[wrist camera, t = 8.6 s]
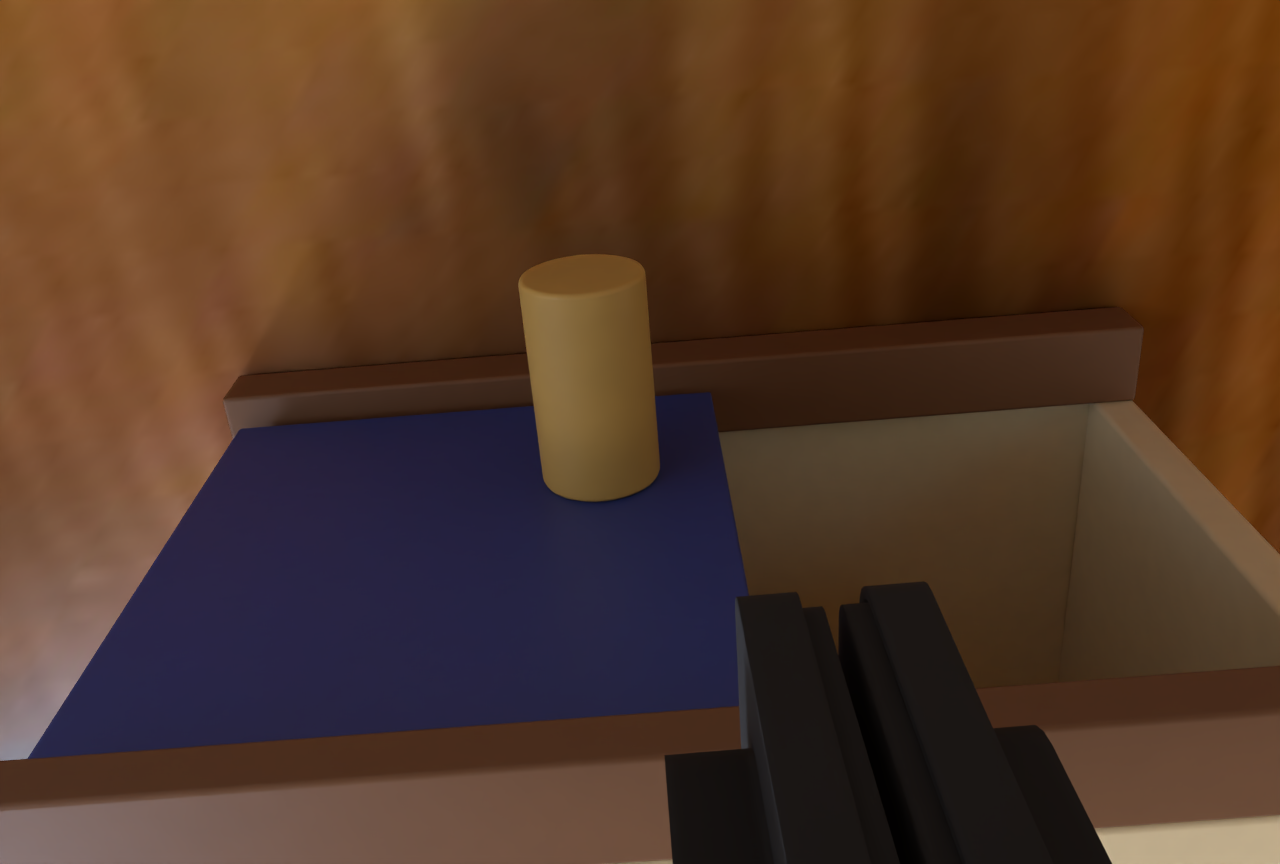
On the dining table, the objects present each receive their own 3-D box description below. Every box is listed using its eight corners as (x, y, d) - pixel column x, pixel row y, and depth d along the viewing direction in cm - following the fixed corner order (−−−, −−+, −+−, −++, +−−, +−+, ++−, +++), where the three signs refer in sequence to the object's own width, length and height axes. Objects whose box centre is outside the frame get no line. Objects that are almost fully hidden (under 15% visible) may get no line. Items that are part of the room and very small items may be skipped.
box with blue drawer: (238, 374, 23) (-74, 812, 13) (1121, 304, 23) (1559, 690, 13) (346, 798, 29) (188, 1361, 18) (1068, 745, 28) (1345, 1283, 18)
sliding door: (193, 249, 21) (-92, 518, 12) (701, 209, 21) (765, 452, 12) (245, 454, 23) (31, 810, 14) (712, 418, 22) (774, 754, 14)
